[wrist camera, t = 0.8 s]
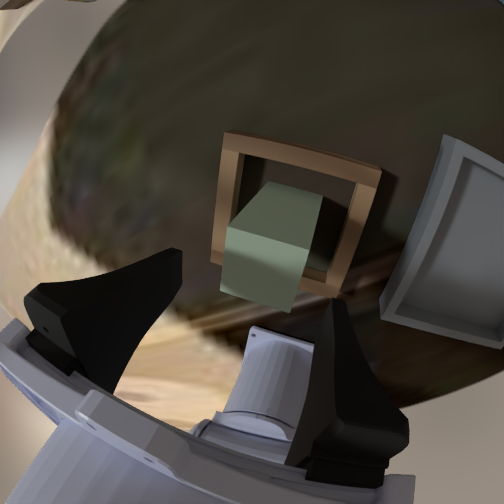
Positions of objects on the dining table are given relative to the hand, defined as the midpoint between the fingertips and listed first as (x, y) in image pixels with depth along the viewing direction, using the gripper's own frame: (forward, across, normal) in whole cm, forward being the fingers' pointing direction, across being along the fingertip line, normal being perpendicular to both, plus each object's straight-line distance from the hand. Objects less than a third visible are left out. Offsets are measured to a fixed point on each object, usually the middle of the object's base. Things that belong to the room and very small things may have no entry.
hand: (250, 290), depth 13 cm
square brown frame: (+10, 0, 0) cm, 10 cm away
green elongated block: (+10, 0, 0) cm, 10 cm away
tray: (+10, -16, -2) cm, 19 cm away
